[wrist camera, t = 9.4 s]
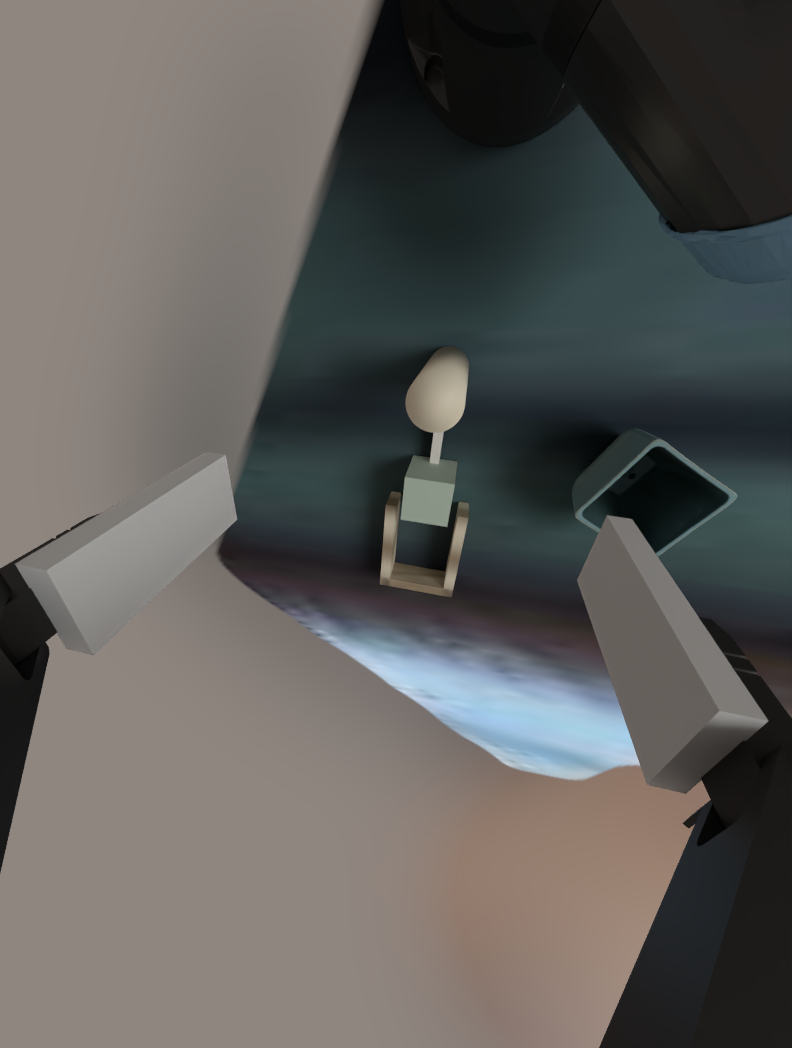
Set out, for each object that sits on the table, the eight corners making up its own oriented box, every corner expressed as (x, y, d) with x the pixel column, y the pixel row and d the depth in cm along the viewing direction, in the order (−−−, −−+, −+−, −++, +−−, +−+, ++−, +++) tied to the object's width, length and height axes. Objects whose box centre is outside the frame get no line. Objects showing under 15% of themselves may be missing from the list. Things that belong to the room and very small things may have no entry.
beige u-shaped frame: (391, 491, 45) (385, 504, 42) (468, 503, 44) (468, 518, 41) (385, 567, 52) (380, 584, 49) (452, 579, 51) (451, 597, 48)
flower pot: (554, 475, 41) (572, 516, 33) (620, 406, 36) (658, 436, 28) (615, 517, 42) (646, 566, 34) (687, 455, 37) (741, 497, 30)
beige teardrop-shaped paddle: (425, 343, 36) (400, 367, 24) (477, 349, 35) (478, 376, 24) (409, 494, 45) (385, 565, 33) (450, 500, 44) (441, 575, 32)
